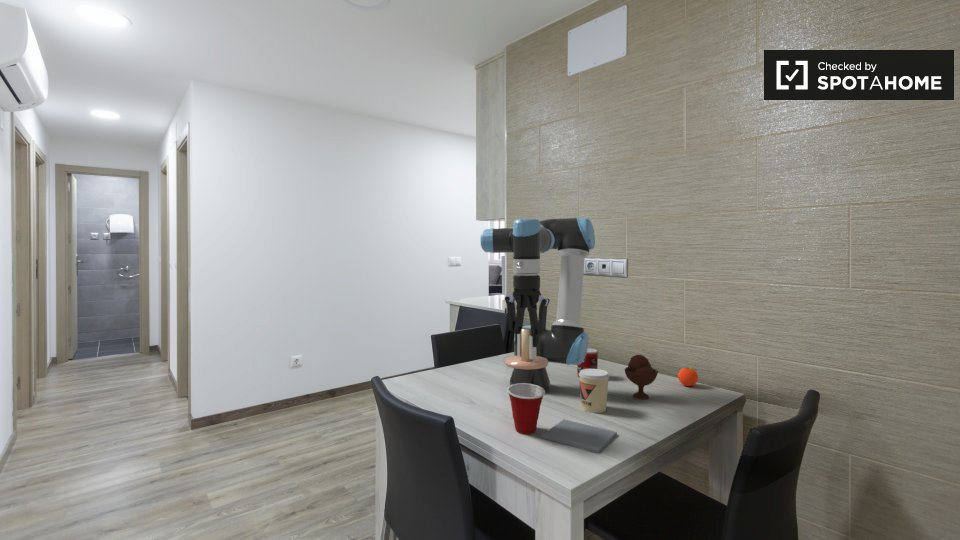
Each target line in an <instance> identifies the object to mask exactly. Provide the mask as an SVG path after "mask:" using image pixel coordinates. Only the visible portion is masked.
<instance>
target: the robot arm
mask: <svg viewBox="0 0 960 540" xmlns="http://www.w3.org/2000/svg"><path fill="white" fill-rule="evenodd" d="M594 229H595V228H594V225H593V223H592V221H591V220H590V219H589V218H586V217H573V218H572V217H570V218H566V217H565V218H549V219H544V220H539V219H537V218H520V219H519V218H518V219H515V220H514V221H513V225H512V227H501V228H486V229H484V230H483V231H482V232H481V235H480V239H479V240H480V247H481V249H482V251H483V252H485V253H491V254H496V253H497V254H500V253H501V254H502V253H504V254H505V253H513V255H512V258H513V259H512V260H513V261H512V266H513V267H512V270H513V274H514V275H513V277H512V284H513V286H512V287H513V292H512V294H510V295H507V296H504V300H505V303H506V310H507V326H508V330H509V332H511V331H512V333H514V339H513V342H514V343H513V345H514V347H513V351H514V352H513V353H514V355H513V356H517V357H521V328H531V332H532V334H530V336H529V359H533V358H536V356H540V357H544V358H546V359H547V360H548V363H553V364H561V365H562V364H563V365H567V366H570V365H571V366H572V365H575V366H577V365H579V364H581V363H582V362H583V360H584V358H585V356H586V353H587V349H588V348H589V334H588V333H587V332H585V327H584V326H583V325H582V323H581V315H582V303H583V298H582V297H583V287H584V273H585V271H584V270H585V260H586V258H587V257H588V256H589V255H590V250H593V249H595V247H596V246H595V245H596V235H595V230H594ZM550 250H557V254H558V255H559V257H560V269H559V282H558V295H557V306H556V319H555V321H554V322H553V323H552V324H551V329H547V317H548V315H547V314H548V307H549V304H550V298H546V297H544V296H542V293H541V291H540V289H541V276H540V275H539V274H540V273H541V254H545V253H546V252H549V251H550ZM515 302H516V303H515ZM538 304H539V307H538ZM526 309H527V310H526ZM525 310H526V311H527V312H528V315H529V316H528V317H529V323H530V325H524V317H525V312H526V311H525ZM537 311H538V312H537ZM519 383H526V384H533V385H537V386H540V387H542V388H543V389H544V390H545V393H546V392H549V390H550V389H551V380H550V377H549V374H548V371H547V367H544V368H540V369H517V368H513V370H512V373H511V376H510V379H509V386H511V385H513V384H519Z"/></svg>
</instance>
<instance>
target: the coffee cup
mask: <svg viewBox="0 0 960 540" xmlns="http://www.w3.org/2000/svg"><path fill="white" fill-rule="evenodd" d="M579 376H580V378H579V391H580V392H579V393H580V405H581V409H583V411H585V412H586V411H587V412H588V413H590V414H591V413H593V414H601V413H602V414H603V413H604V412H606V410H607V402H608V391H609V378H610V374H609V373H608V371H606V370H604V369H599V368H597V369H583V370H581V371H580V373H579Z"/></svg>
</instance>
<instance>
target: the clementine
mask: <svg viewBox="0 0 960 540" xmlns="http://www.w3.org/2000/svg"><path fill="white" fill-rule="evenodd" d="M677 378H678V381H679V382H680V384H682V385H683V386H685V387H693V386H695V385H696V384H697V383H698V380H699V375H698V370H697V369H696V368H694V367H690V366H689V367H683V368H681V369H680V370H679V372H678V374H677Z"/></svg>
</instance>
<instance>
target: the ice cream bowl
mask: <svg viewBox="0 0 960 540" xmlns="http://www.w3.org/2000/svg"><path fill="white" fill-rule="evenodd" d="M627 365H628V366H627V367H625V368H624V374H625V377H626V378H627V379H628V380H629V381H630V382H632V383H633V384H634V385H637V387H638V388H637V389H638V390H637V391H636V392H635V393H633V394H632V397H633V398H634V399H636V400H637V399H638V400H649V399H650V396H649V395H648V394H647V393H645V392H644V391H645V390H644V388H645V386H649V385H651V384H652V383H653V382H654V381H655V380H656V379H657V376H658V373H659V370H658V369H655V368H654V367H652V364H651V363H650V362H649V359H648V358H647V357H646V356H644V355H643V354H635V355H633V356H632V357H631V358H630V359H629V362H628V364H627Z"/></svg>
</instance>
